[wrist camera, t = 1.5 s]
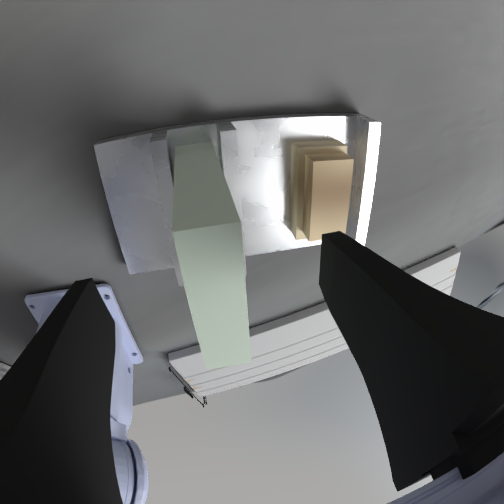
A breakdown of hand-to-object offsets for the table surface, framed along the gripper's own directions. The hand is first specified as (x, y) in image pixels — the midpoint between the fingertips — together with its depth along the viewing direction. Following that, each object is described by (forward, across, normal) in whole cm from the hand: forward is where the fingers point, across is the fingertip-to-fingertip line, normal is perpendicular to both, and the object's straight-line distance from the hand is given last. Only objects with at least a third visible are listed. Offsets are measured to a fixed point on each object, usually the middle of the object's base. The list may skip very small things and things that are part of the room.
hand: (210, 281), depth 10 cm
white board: (+11, -10, +19) cm, 24 cm away
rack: (+10, -2, +2) cm, 11 cm away
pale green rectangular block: (+10, 0, +2) cm, 10 cm away
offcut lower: (+10, -7, +2) cm, 12 cm away
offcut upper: (+8, -7, +2) cm, 11 cm away
